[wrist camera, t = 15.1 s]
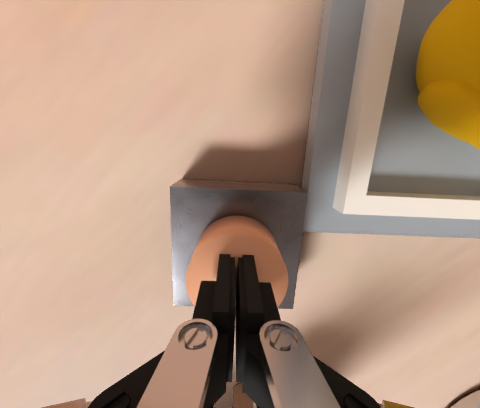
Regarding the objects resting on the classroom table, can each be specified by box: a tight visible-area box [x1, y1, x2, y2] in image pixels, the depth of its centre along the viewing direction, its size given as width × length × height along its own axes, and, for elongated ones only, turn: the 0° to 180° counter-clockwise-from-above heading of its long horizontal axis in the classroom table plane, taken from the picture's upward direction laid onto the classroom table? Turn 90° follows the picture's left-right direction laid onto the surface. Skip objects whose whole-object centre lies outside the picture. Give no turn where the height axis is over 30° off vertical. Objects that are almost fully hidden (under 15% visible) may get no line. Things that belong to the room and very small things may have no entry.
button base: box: [170, 179, 308, 309], centre depth 16 cm, size 8×8×3 cm
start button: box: [186, 216, 288, 326], centre depth 13 cm, size 5×5×3 cm
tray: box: [301, 0, 480, 238], centre depth 13 cm, size 15×20×3 cm
